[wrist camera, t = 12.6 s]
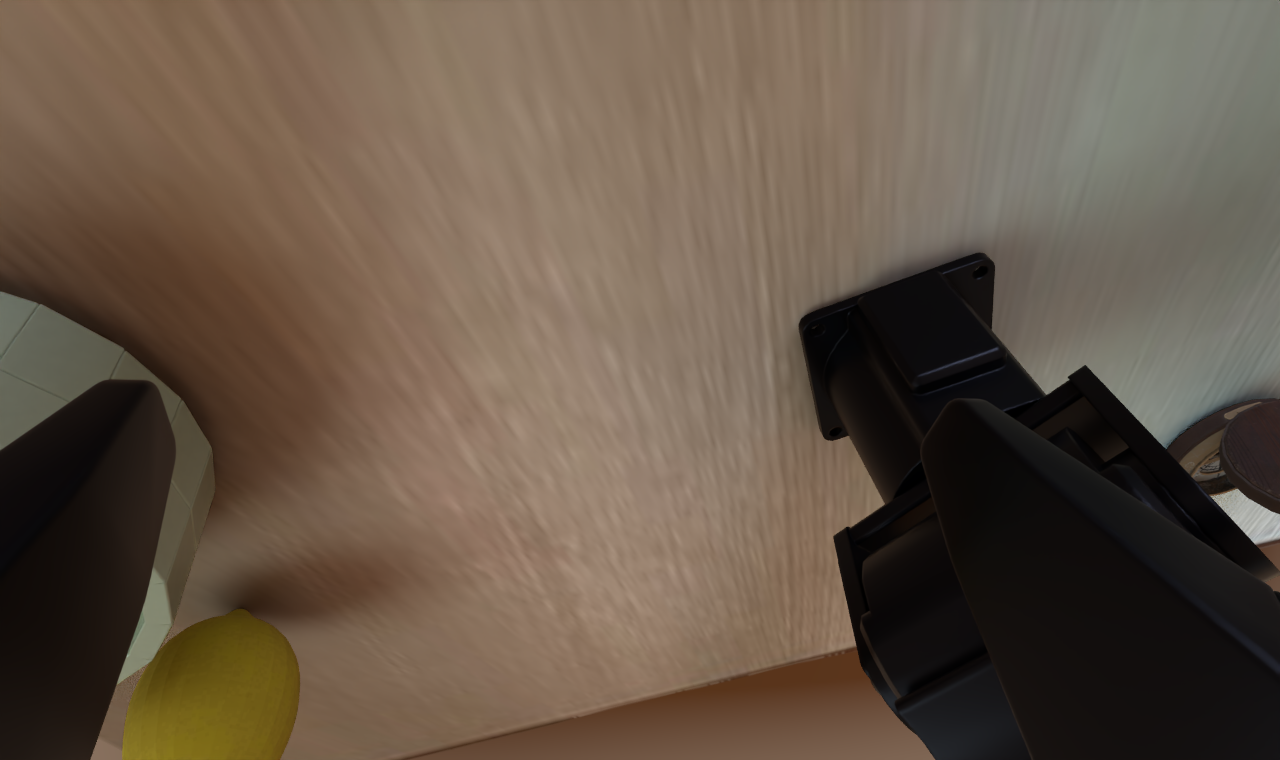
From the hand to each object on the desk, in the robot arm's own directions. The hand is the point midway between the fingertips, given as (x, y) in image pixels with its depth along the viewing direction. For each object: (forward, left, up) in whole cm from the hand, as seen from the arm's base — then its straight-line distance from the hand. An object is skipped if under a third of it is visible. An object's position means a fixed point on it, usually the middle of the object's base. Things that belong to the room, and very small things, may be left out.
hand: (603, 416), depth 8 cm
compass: (-27, -24, -12) cm, 38 cm away
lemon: (-16, +20, -12) cm, 28 cm away
